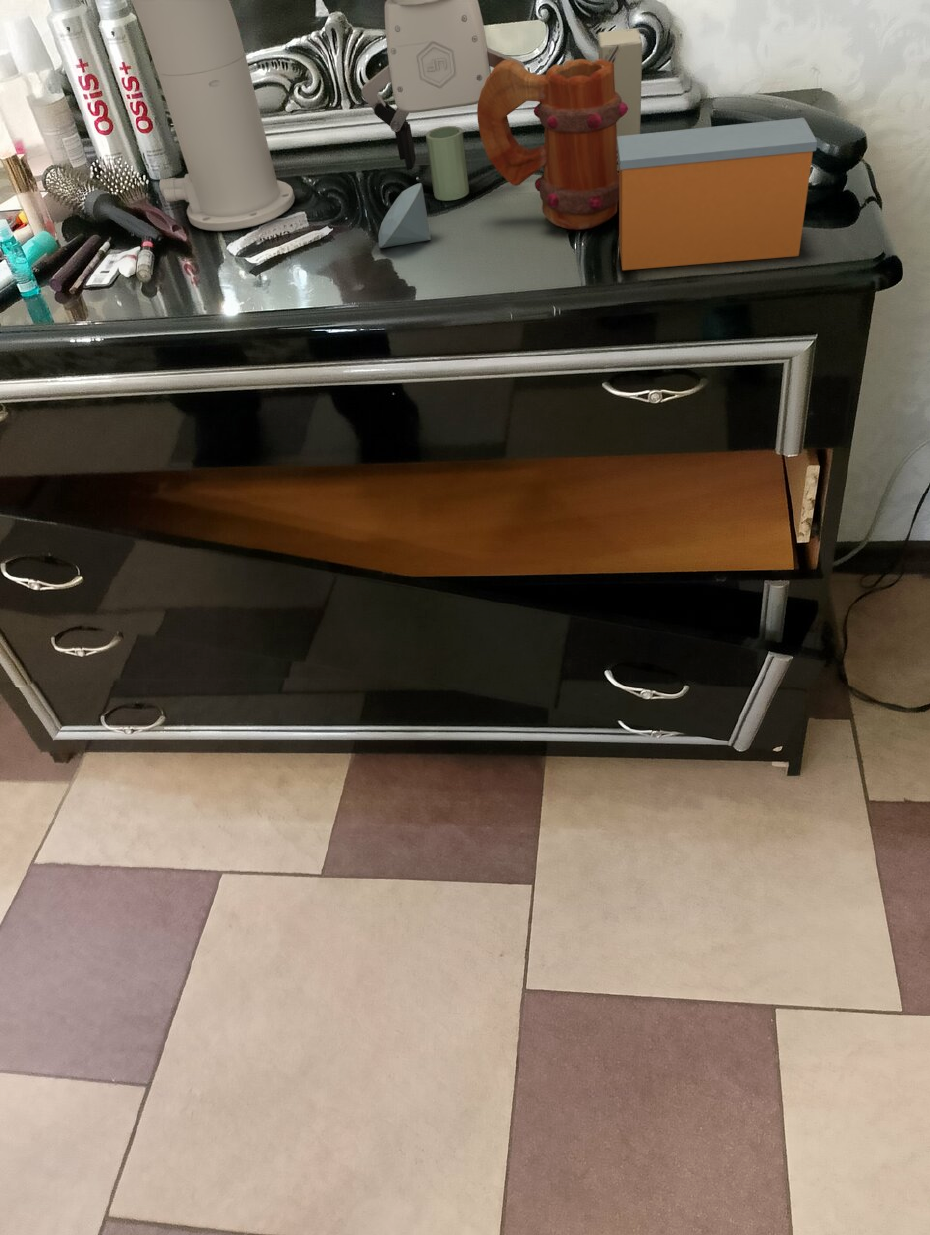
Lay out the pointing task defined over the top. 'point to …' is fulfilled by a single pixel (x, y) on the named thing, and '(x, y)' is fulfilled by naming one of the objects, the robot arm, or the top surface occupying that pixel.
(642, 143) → the container
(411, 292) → the top surface
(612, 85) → the mug
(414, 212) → the gemstone
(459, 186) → the cup
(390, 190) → the top surface
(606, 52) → the box
